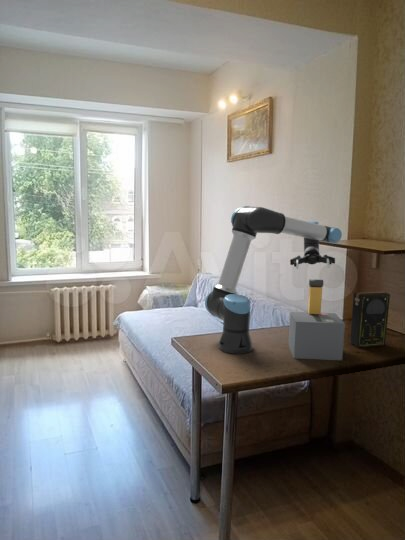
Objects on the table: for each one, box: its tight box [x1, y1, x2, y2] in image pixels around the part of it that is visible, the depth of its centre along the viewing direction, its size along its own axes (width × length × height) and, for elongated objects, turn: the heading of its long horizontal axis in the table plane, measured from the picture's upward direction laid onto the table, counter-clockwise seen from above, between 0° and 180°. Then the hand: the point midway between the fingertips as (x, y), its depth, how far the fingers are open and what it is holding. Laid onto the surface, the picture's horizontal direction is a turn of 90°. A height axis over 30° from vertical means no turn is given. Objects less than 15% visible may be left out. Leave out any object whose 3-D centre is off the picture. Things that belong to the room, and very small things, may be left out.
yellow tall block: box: [307, 278, 324, 314], centre depth 187 cm, size 6×3×15 cm, turn 87°
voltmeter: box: [349, 290, 391, 349], centre depth 196 cm, size 16×9×25 cm, turn 105°
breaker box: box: [288, 311, 346, 361], centre depth 184 cm, size 20×16×16 cm
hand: (312, 265), depth 190 cm, fingers open, 13 cm apart
